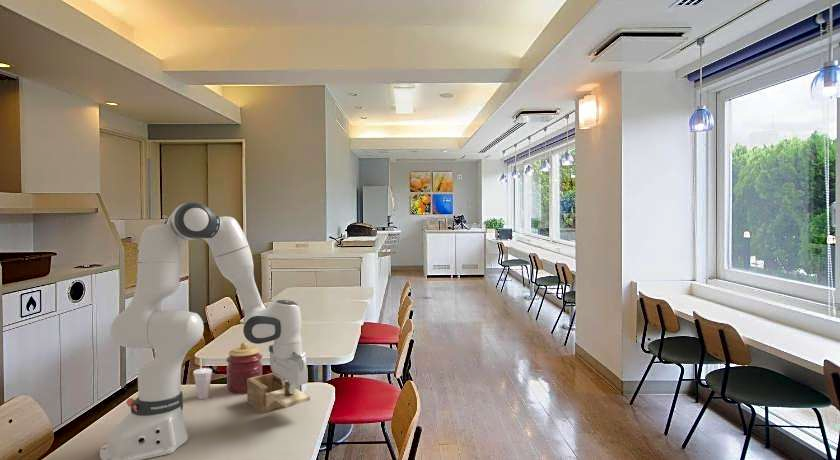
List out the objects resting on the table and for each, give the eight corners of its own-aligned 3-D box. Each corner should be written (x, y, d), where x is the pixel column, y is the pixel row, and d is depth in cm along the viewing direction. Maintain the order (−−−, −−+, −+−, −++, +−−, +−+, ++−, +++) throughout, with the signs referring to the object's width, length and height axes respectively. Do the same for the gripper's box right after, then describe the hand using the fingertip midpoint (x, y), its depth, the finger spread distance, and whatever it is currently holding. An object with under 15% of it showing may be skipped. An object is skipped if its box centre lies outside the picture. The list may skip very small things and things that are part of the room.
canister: (219, 391, 193) (218, 345, 193) (243, 380, 205) (242, 336, 204) (246, 396, 188) (245, 348, 188) (270, 384, 200) (269, 339, 199)
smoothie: (196, 394, 191) (195, 357, 190) (214, 393, 192) (213, 355, 191) (191, 400, 184) (190, 362, 184) (210, 399, 185) (209, 361, 185)
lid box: (263, 413, 172) (263, 389, 172) (247, 401, 183) (246, 378, 183) (294, 405, 179) (293, 381, 179) (276, 394, 190) (276, 372, 190)
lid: (285, 407, 162) (285, 390, 162) (269, 396, 172) (268, 380, 171) (310, 400, 167) (309, 384, 167) (292, 390, 177) (292, 375, 177)
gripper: (312, 354, 163) (312, 397, 163) (283, 342, 178) (284, 381, 179) (293, 358, 159) (294, 402, 159) (266, 345, 174) (267, 385, 175)
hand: (288, 391), depth 169 cm, fingers closed on lid, 3 cm apart
